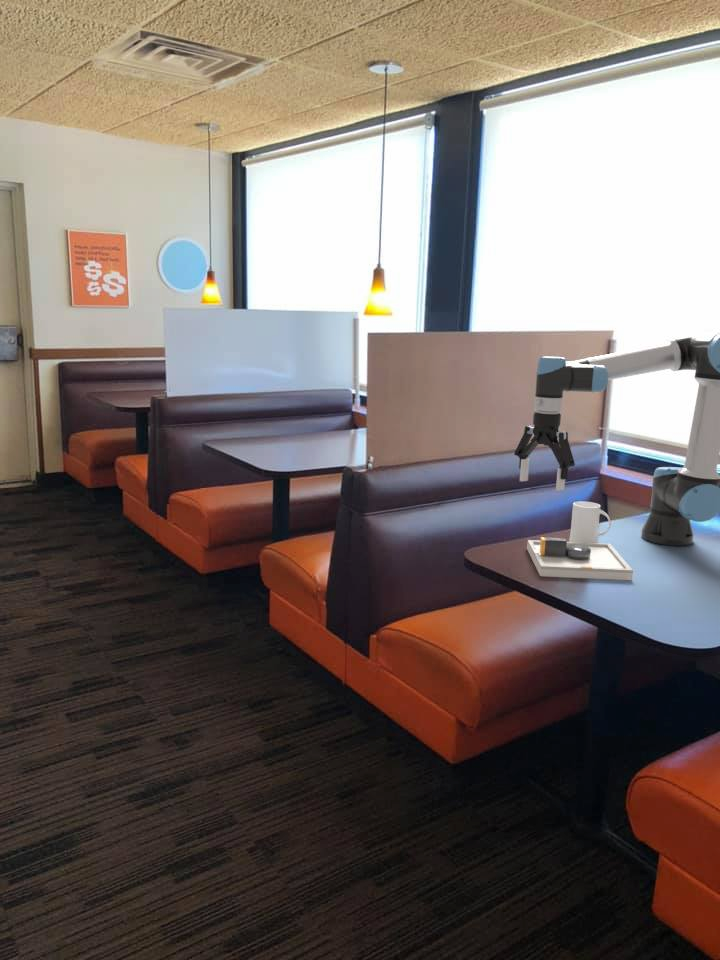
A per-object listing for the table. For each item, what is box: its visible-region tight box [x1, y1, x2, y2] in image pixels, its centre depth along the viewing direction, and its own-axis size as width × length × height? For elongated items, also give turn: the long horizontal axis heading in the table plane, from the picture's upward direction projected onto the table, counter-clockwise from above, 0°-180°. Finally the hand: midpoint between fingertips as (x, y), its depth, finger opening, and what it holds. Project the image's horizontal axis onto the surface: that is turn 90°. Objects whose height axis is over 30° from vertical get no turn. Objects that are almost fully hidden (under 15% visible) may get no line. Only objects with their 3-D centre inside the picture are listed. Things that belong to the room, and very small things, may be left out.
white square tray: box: [526, 539, 634, 581], centre depth 214 cm, size 24×24×3 cm
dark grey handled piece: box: [539, 536, 591, 559], centre depth 213 cm, size 14×7×4 cm, turn 86°
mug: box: [568, 500, 612, 543], centre depth 233 cm, size 12×8×12 cm
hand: (541, 485), depth 220 cm, fingers open, 13 cm apart
